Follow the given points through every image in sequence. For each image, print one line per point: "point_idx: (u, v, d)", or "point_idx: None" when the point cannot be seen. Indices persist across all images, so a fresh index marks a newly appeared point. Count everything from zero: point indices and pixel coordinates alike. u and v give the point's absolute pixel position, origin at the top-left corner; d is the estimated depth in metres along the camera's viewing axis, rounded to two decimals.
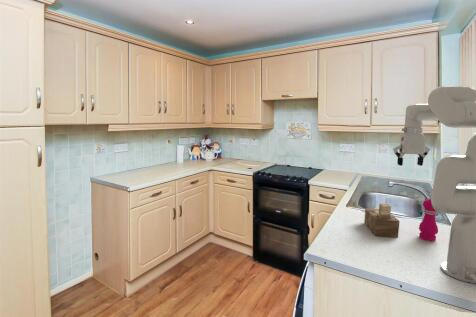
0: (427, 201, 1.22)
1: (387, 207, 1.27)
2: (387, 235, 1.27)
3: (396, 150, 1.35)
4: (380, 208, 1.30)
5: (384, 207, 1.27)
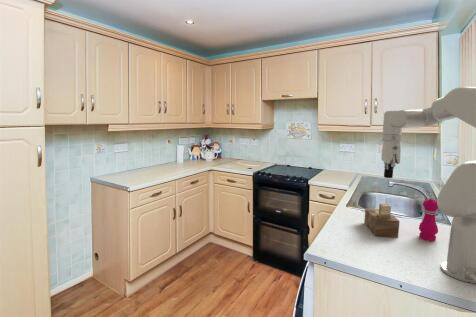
0: (427, 201, 1.22)
1: (387, 207, 1.27)
2: (387, 235, 1.27)
3: None
4: (380, 208, 1.30)
5: (384, 207, 1.27)
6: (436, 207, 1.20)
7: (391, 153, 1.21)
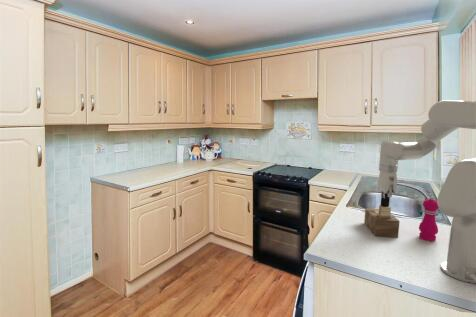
0: (427, 201, 1.22)
1: (387, 208, 1.27)
2: (387, 235, 1.27)
3: None
4: (380, 209, 1.30)
5: (384, 208, 1.28)
6: (436, 207, 1.20)
7: (388, 183, 1.23)
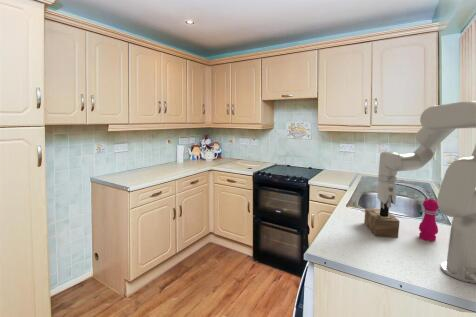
0: (427, 201, 1.22)
1: (386, 218, 1.28)
2: (387, 235, 1.27)
3: None
4: None
5: (383, 218, 1.28)
6: (436, 207, 1.20)
7: (387, 194, 1.24)
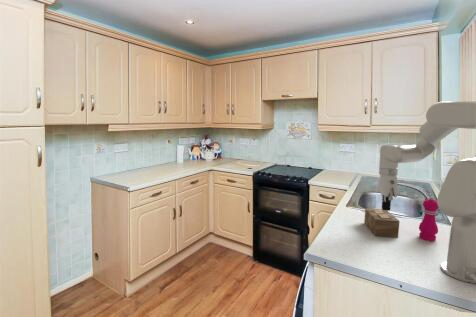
0: (427, 201, 1.22)
1: None
2: (387, 235, 1.27)
3: None
4: None
5: (383, 218, 1.28)
6: (436, 207, 1.20)
7: (388, 187, 1.23)
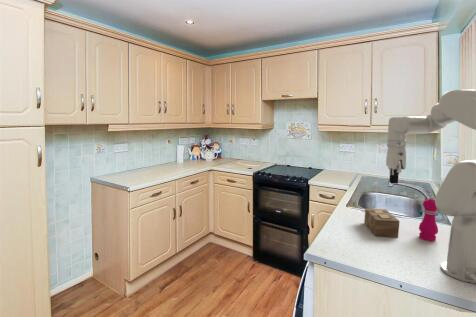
0: (427, 201, 1.22)
1: None
2: (387, 235, 1.27)
3: None
4: None
5: (383, 218, 1.28)
6: (436, 207, 1.20)
7: (397, 159, 1.22)
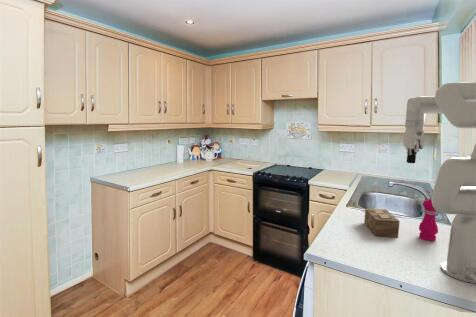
0: (427, 201, 1.22)
1: None
2: (387, 235, 1.27)
3: None
4: None
5: (383, 218, 1.28)
6: None
7: (415, 138, 1.25)
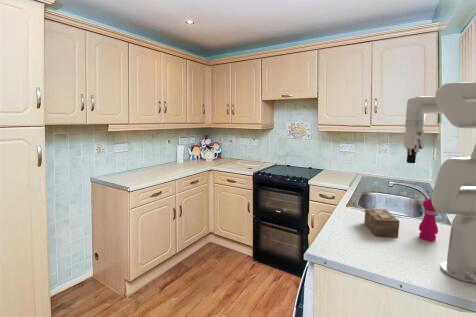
0: (427, 201, 1.22)
1: None
2: (387, 235, 1.27)
3: None
4: None
5: (383, 218, 1.28)
6: None
7: (415, 138, 1.25)
